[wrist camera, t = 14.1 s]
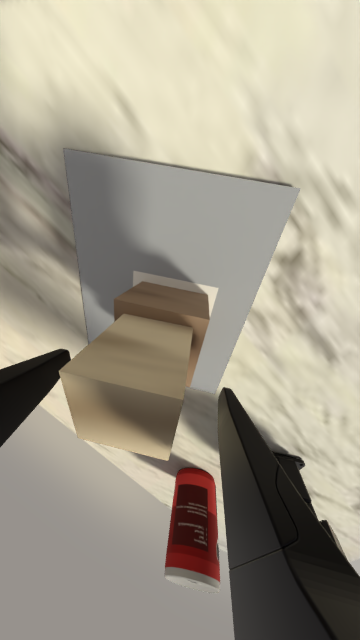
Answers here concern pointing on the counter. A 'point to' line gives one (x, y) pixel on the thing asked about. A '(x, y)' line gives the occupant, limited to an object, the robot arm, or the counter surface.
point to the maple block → (130, 385)
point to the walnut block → (168, 312)
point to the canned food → (194, 533)
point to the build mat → (174, 242)
